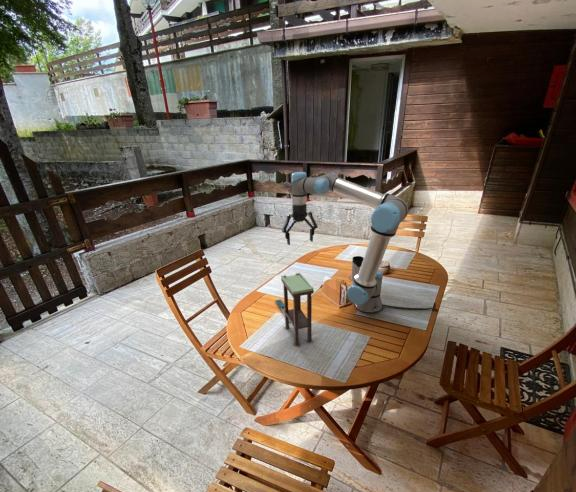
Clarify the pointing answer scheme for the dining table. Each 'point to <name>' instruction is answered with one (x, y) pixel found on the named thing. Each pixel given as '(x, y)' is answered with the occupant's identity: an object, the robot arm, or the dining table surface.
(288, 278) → the tray
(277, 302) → the blue grooved block
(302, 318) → the stand
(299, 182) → the robot arm
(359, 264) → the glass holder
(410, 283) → the dining table surface
